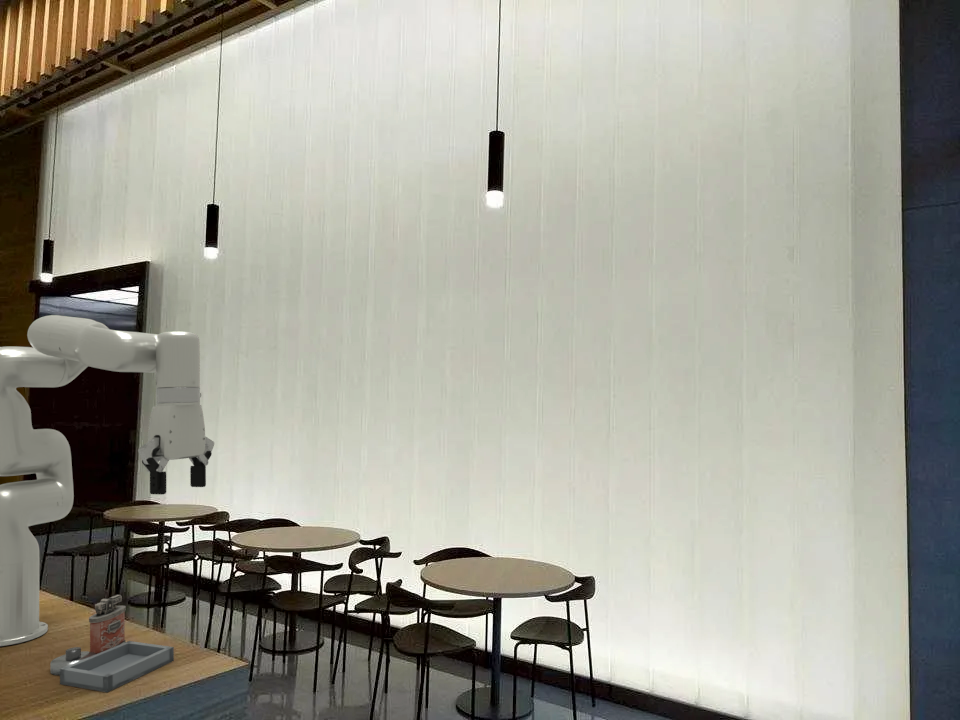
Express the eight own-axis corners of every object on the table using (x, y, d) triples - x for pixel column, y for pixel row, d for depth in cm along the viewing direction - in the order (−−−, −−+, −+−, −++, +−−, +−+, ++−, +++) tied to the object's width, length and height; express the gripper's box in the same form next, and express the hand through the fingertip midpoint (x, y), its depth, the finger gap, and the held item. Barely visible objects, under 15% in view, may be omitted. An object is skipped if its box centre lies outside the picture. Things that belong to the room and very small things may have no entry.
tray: (59, 684, 116) (59, 669, 116) (129, 654, 129) (129, 640, 129) (107, 692, 112) (107, 676, 112) (173, 660, 125) (173, 647, 126)
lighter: (99, 659, 127) (99, 605, 128) (84, 658, 128) (84, 604, 128) (130, 644, 135) (130, 592, 135) (115, 643, 136) (115, 592, 136)
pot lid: (41, 672, 122) (41, 654, 122) (77, 658, 128) (77, 640, 128) (69, 677, 119) (69, 658, 119) (104, 662, 126) (104, 644, 126)
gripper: (196, 397, 137) (197, 484, 136) (124, 399, 121) (124, 496, 120) (226, 396, 134) (227, 484, 133) (157, 397, 118) (157, 497, 117)
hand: (178, 490), depth 127 cm, fingers open, 9 cm apart
